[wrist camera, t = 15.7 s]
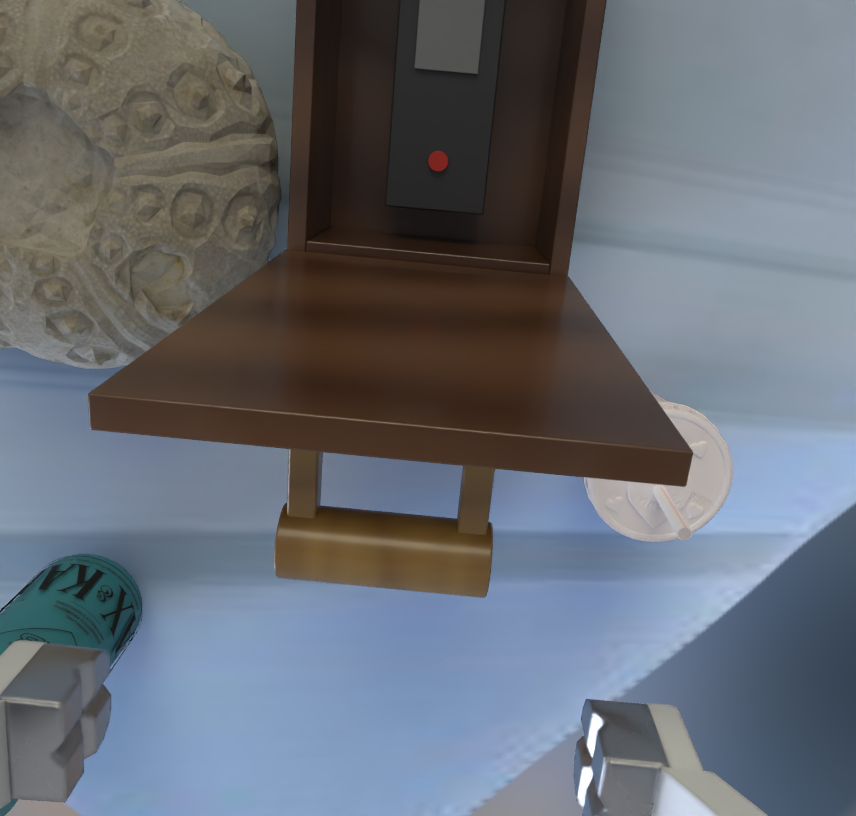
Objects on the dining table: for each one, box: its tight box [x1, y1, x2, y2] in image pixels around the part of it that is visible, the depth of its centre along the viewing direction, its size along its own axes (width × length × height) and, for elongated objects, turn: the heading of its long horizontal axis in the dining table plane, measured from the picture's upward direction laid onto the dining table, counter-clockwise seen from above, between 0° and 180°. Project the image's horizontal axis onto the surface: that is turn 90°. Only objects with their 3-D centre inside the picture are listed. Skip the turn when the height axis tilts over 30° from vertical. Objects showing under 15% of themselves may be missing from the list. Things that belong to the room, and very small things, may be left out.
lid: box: [88, 250, 693, 598], centre depth 26 cm, size 19×12×5 cm
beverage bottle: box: [0, 554, 142, 816], centre depth 39 cm, size 6×7×20 cm
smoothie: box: [584, 391, 733, 542], centre depth 38 cm, size 6×6×14 cm
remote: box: [385, 0, 506, 215], centre depth 37 cm, size 14×5×4 cm, turn 175°
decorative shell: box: [0, 0, 281, 369], centre depth 37 cm, size 18×18×10 cm
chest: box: [287, 0, 607, 277], centre depth 36 cm, size 19×12×8 cm, turn 175°
